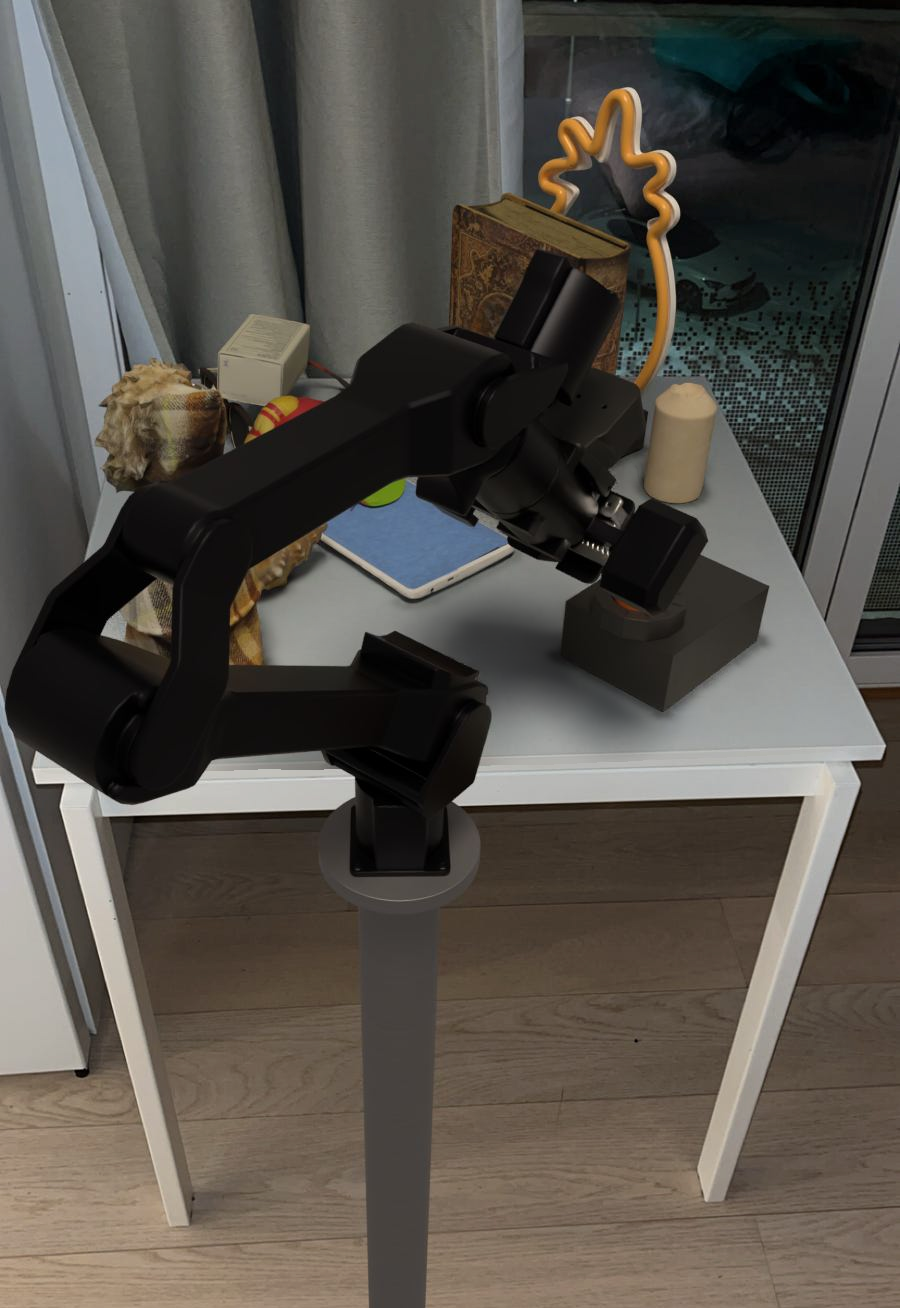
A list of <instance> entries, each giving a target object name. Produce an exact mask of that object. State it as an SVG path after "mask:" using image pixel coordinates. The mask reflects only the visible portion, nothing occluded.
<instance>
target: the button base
mask: <svg viewBox="0 0 900 1308" xmlns="http://www.w3.org/2000/svg"><path fill="white" fill-rule="evenodd" d="M600 581H601V578H598V580H597V581H596V582H594V583H592V584H589V586H587V587H585V588H584V589H583V590H581V591H579V592H578V593H576V594H574V595H573V596H571V597H570V598H568V599H567V600H565V605H564V613H563V622H562V632H561V633H562V634H561V641H560V650H559V651H560V652H559V657H560V658H562V659H564V660H566V661H568V662H569V663H571V664H573V665H575V666H576V667H579V668H580V669H582V670H583V671H586V672H587V673H590V674H592V675H593V676H595V677H597V678H599V679H601V680H602V681H605V682H606V683H608V684H611V685H612V686H613V687H615V688H618V689H620V690H622V691H623V692H625V693H627V694H629V695H631V696H632V697H634V698H636V699H638V700H640V701H642V702H644V703H645V704H647V705H649V706H651V707H653V708H654V709H656V710H658V711H660V712H663V713H664V712H665V711H666V710H668V709H669V708H671V706H673V705H674V704H675V703H677V702H678V701H680V700H681V699H682V698H683V697H685V696H686V695H688V694H689V693H690V692H691V691H693V690H694V689H696V688H697V687H698V686H699V685H701V684H702V683H703V682H704V681H706V680H707V679H708V678H710V677H712V675H714V674H715V673H717V671H719V670H720V669H721V668H723V667H724V666H725V665H727V664H728V663H729V662H731V661H732V660H733V659H735V658H736V657H737V656H738V655H740V654H741V653H742V652H744V651H746V649H748V648H750V647H751V646H752V645H753V644H754V643H756V642H757V641H758V637H759V633H760V629H761V625H762V621H763V616H764V611H765V607H766V604H767V599H768V595H769V592H770V591H769V590H770V585H768V584H766V583H763V582H762V581H760V580H757V579H755V578H754V577H751V576H748V575H747V574H744V573H742V572H739V571H737V570H735V569H733V568H731V567H729V566H727V565H725V564H722V563H720V562H718V561H716V560H713V559H711V558H709V557H707V556H705V555H702V553H701V554H700V556H699V557H698V559H697V561H696V563H695V564H694V566H693V568H692V569H691V571H690V573H689V574H688V576H687V578H686V579H685V581H684V583H683V584H682V586H681V588H680V590H679V591H678V593H677V595H676V596H675V598H674V600H673V601H672V603H671V605H670V606H669V608H668V610H667V611H666V613H665V614H663V615H660V616H657V617H654V618H653V617H651V616H649V615H647V614H645V613H643V612H640V611H634V610H629V609H627V608H625V607H623V606H621V605H619V604H617V603H616V601H615V599H614V597H613V596H611V595H609V594H608V593H606V592H605V591H604V590H603V589H602V588H601V587H600Z"/></svg>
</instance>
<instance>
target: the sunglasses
mask: <svg viewBox="0 0 900 1308" xmlns="http://www.w3.org/2000/svg"><path fill="white" fill-rule="evenodd" d="M307 366H312V367H315V368H316V369H319V371H322V372H324V373H326V374H327V375H330V377H332V378H333V379H335V380H336V381H337V382H339V384H340V385H341V386H342V387H343V388H344V389H345V388H346V387H348V386H349V384H350V382H347V380H345V379H344V378H342V377H341V376H340V375H337V374H335V373H334V372H332V371H331V370H329V369H328V368H326V367H325V366H322V365H320V364H319V363H316V362H314V361H310V360H308V361H307ZM197 371H198V375H199V378H200V383H201V384H203V385H204V386H206V387H207V388H208V389H211V388H212V386H213V385H214V387H215V389H217V376H216V375H215V374H218V367H209V368H206V367H204V366H202V367H199V368H198V369H197ZM223 403H224V405H225V407H226V419H227V431H228V432H230V433H231V439H232V443H233V446H234V449H235V448H237V447H239V446H241V445H243V444H244V442H245V439H246V437H247V435H248V434H249V432H250V430H251V428H252V427H253V425H254V423H255V420H253V418H252V417H251V415H250V413H249V412H248V411H247V410H246V409H245V408H244V406H243V405H241V404H240V403H238V402H237V401H229V399H225V398H223Z"/></svg>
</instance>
